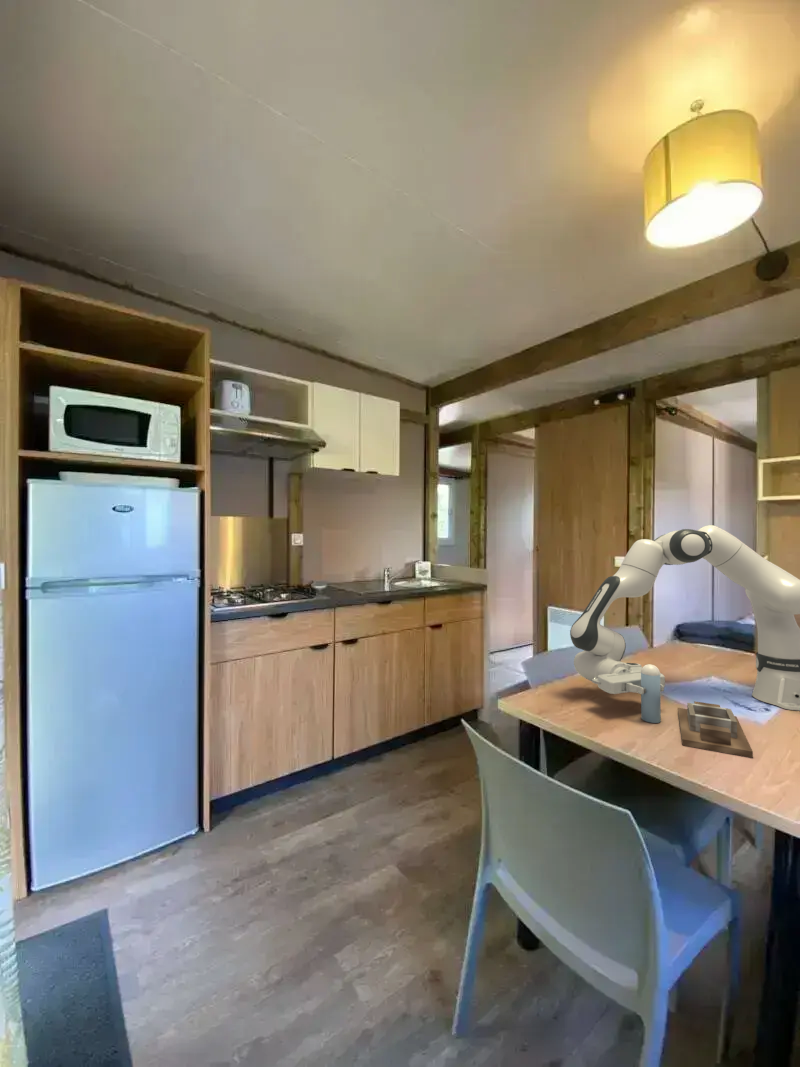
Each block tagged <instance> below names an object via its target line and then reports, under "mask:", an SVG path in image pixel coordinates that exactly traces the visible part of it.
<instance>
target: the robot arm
mask: <svg viewBox="0 0 800 1067" xmlns="http://www.w3.org/2000/svg"><path fill="white" fill-rule="evenodd" d="M701 559H704V560H706V562H708V563H709V564H710V565H712V566H713V567H714V568H715V569H716V570H717V571H719V572H720V573H721V574H723V575H725V577H727V578H728V579H729V580H731V581H732V582H733V583H735V584H737V585H738V586H740V587H741V588H744V590H745V596H746V597H747V598H748V600H749V602H750V605H751V609H752V612H753V615H754V616H753V617H754V619H755V623H756V630H757V651H756V654H755V655H756V656H755V668H756V679H755V683H754V687H753V690H752V693H751V697H753V698H755V699H756V700H759V701H761V702H763V703H767V704H771V705H774V706H777V707H779V708H782V709H785V710H789V711H790V710H792V711H800V626H799V625H798V622H797V620H796V618H795V615H800V579H799V578H798V577H797V576H795V575H793V574H792V573H790V572H788V571H787V570H785V569H783V568H781V567H780V566H778V565H777V564H775V563H773V562H771V561H770V560H767V559H766V558H764V557H763V556H762V555H760V554H759V553H757V552H756V551H755V550H753V549H752V548H751V547H749V546H748V545H746V543H744V542H743V541H741V540H740V539H739V538H738V537H736V536H735V535H733V534H732V533H730V532H728V531H726V530H724V529H723V528H720V527H719V526H716V525H714V524H713V525H711V524H708V525H704V526H703V527H700V528H699V529H696V530H695V529H690V528H685V529H684V528H682V529H678V530H673V531H670V532H668V533H666V534H665V533H664V534H662V535H660V536H658V537H657V538H655V539H654V540H652V539H648V538H643V539H642V538H641V539H638V540H636V541H635V542H634V543H633V544H632V545H631V547H630V549H629V550H628V551H627V553H626V555H625V556H624V558H623V560H622V562H621V564H620V566H619V568H618V570H617V571H616V572H615V574H613V575H612V576H608V577H607V578H605V580H603V582H602V583H601V584H600V586H599V587H598V589H597V590H596V591H595V593H594V595H593V596H592V598H591V599H590V601H589V603H588V604H587V606H586V607H585V609H584V610H583V612H582V614H580V616H579V617H578V618H577V619H576V620H575V621H574V623H573V624H572V626H571V627H570V630H569V636H570V640H571V643H572V644H573V646H574V647H575V648H577V649H579V650H583V651H579V652H578V653H576V654H575V656H574V659H573V667H574V669H575V671H576V672H577V673H578V675H580V676H581V677H583V678H584V679H585V680H588V681H590V682H591V683H593V684H596V685H597V687H598V688H599V689H600V690H602V691H603V692H605V693H607V694H611V695H618V694H619V695H620V694H624V693H634V694H635V693H637V694H640V695H641V694H646V693H647V692H646V690H647V689H646V687H643V686H641V669H642V667H643V666H642V664H640V663H637V662H623V661H622V660H623V657H624V655H625V652H626V646H627V645H626V640H625V638H624V636H623V635H622V634H621V633H620V632H617V631H615V630H613V629H611V628H609V627H606V626H604V625H603V624H601V620H602V619H603V617H604V616H605V614H606V612H607V611H608V610H609V608H610V606H611V605H612V603H613V602H614V601H616V600H618V599H620V598H639V597H643V596H645V595H647V594H649V592H650V591H651V590H652V588H653V587H654V585H655V584H654V583H655V582H656V579H657V577H658V575H659V572H660V570H661V569H662V567H663V566H664V565H666V566H673V565H676V566H679V565H681V566H682V565H685V564H689V563H690V564H691V563H694V562H697V561H699V560H701ZM665 686H666V676H665V675H664V674H663V673H661V672H660V693H661V692H664V690H665Z"/></svg>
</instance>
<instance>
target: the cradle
mask: <svg viewBox="0 0 800 1067" xmlns="http://www.w3.org/2000/svg"><path fill="white" fill-rule="evenodd" d="M686 706H687V708H682V707H677V718H678V724H679V730H680V738H681V744H682V746H685V747H690V748H695V749H701V750H706V751H713V752H718V753H723V754H728V755H732V756H733V755H735V756H739V757H744V758H745V757H746V758H749V759H753V758H754V756H753V755H754V751H753V749H752V747H751V745H750V742H749V741H748V738H747V737H746V734H745V732H744V730H743V728H742V725H741V724H740V721H739V719H738V717H737V716H736V715H734V712H733V711H732V708H726V707H721V705H720V704H716V703H710V702H709V703H708V702H701V701H693V702H687V704H686Z"/></svg>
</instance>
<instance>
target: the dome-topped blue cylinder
mask: <svg viewBox="0 0 800 1067" xmlns="http://www.w3.org/2000/svg"><path fill="white" fill-rule="evenodd" d="M660 673H661V672H660V669H659V668H658V667H657V666H656V665H654V664H650V663H649V664H645V665H643V666H642V669H641V686H643V687H646V689H647V690H646V692H647V693H646V694H640V707H641V708H640V711H641V712H640V713H641V714H640V715H641V717H640V718H641V720H642V721H643V722H644V721H645V722H647V723H653V724H658V723H661V717H662V716H661V715H662V714H661V712H662V710H661V707H662V706H661V705H662V704H661V699H662V698H661V692H660Z"/></svg>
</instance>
